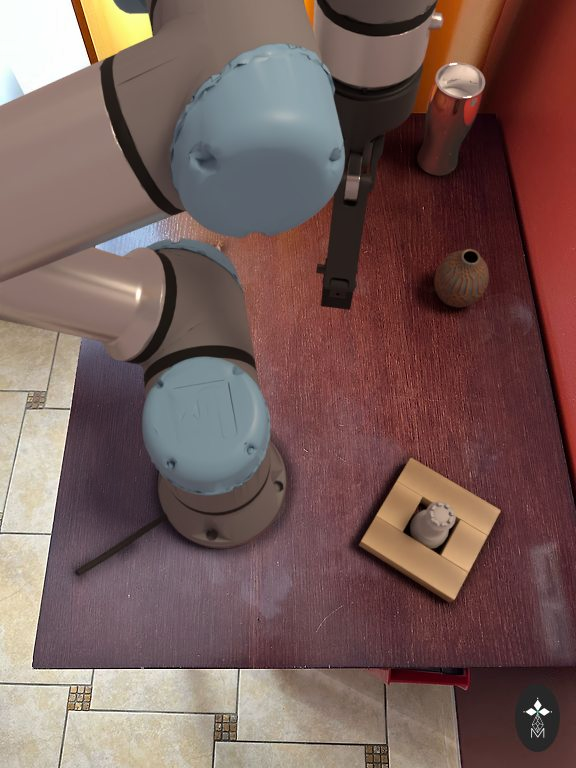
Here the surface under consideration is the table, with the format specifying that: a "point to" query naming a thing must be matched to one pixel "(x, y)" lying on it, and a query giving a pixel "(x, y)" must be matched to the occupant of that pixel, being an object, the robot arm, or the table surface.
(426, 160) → the chrome pint tumbler
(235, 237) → the robot arm
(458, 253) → the vase
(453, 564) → the square wooden frame
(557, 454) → the table surface
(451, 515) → the rook chess piece
